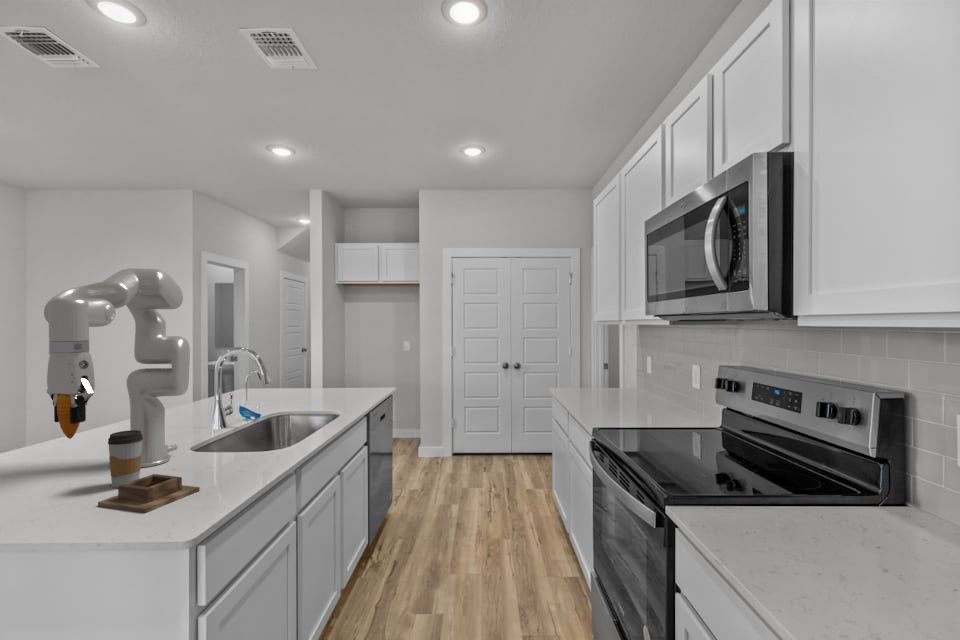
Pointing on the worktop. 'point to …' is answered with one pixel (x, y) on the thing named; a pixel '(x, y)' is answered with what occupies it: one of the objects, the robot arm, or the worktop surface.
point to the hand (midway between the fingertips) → (70, 421)
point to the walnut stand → (148, 493)
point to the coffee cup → (125, 456)
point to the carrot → (66, 415)
